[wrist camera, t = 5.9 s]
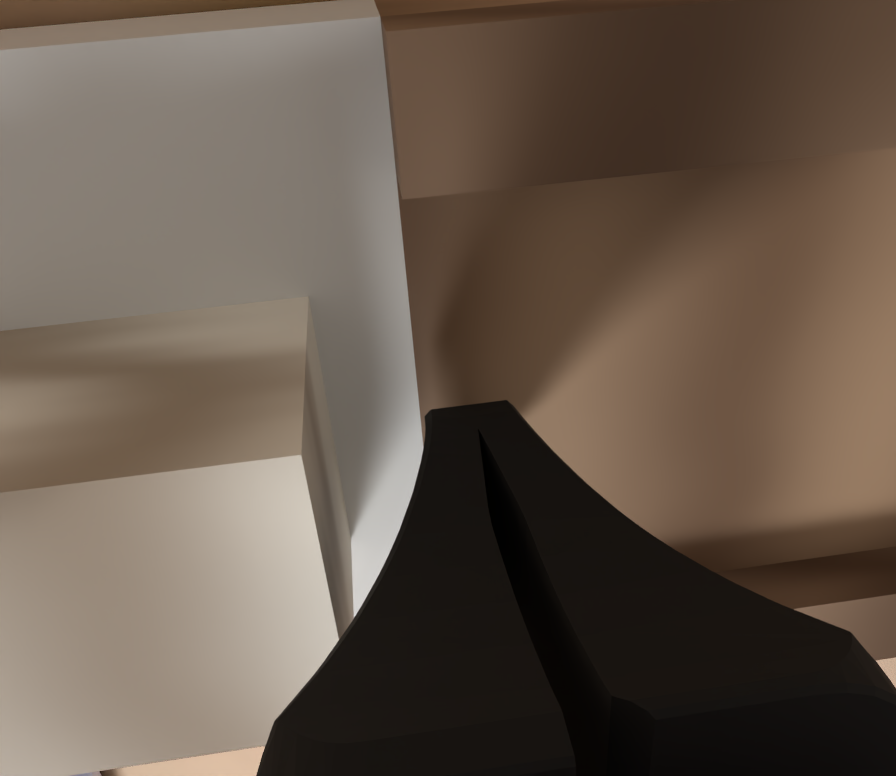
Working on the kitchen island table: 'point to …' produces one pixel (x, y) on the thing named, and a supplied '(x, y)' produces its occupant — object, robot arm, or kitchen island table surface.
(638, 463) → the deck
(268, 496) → the cube
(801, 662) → the robot arm
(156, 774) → the kitchen island table surface
